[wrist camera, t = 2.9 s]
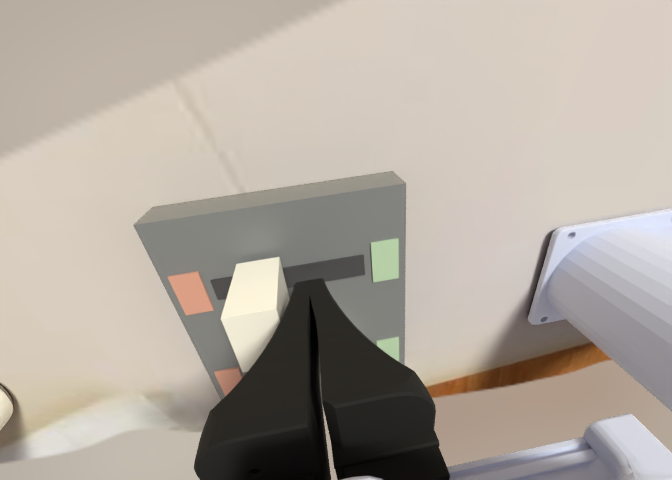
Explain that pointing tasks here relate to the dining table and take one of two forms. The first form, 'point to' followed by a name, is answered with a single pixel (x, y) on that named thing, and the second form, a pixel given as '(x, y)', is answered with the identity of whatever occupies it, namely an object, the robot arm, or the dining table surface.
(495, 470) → the robot arm
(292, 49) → the dining table surface
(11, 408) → the can
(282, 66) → the dining table surface
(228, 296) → the block
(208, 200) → the panel
